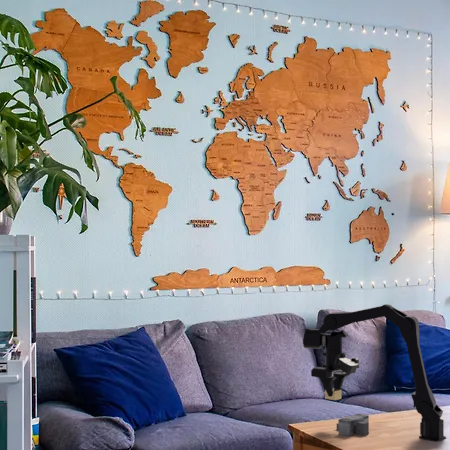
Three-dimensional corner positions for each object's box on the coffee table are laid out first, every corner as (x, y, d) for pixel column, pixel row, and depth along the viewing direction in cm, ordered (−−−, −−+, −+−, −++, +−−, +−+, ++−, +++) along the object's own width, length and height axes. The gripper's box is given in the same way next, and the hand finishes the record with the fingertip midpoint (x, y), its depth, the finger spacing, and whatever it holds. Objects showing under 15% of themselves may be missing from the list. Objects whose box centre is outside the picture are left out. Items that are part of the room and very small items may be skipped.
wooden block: (341, 398, 248) (341, 389, 249) (334, 400, 246) (334, 391, 246) (329, 396, 252) (329, 387, 252) (322, 398, 249) (322, 389, 249)
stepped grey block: (368, 433, 240) (368, 422, 240) (363, 435, 238) (363, 423, 238) (340, 428, 248) (340, 417, 248) (335, 429, 245) (335, 418, 246)
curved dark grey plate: (368, 429, 245) (368, 415, 245) (348, 436, 237) (348, 421, 237) (358, 427, 248) (358, 413, 248) (338, 434, 239) (338, 419, 240)
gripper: (337, 354, 237) (337, 403, 236) (368, 349, 250) (369, 395, 249) (310, 351, 244) (310, 398, 244) (341, 346, 258) (341, 390, 257)
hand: (333, 395), depth 248 cm, fingers closed on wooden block, 4 cm apart
